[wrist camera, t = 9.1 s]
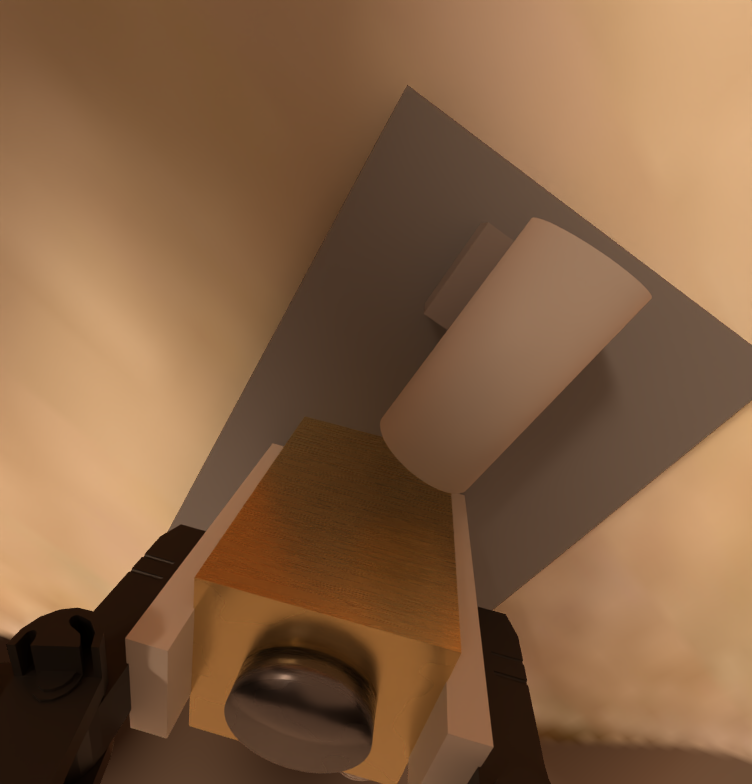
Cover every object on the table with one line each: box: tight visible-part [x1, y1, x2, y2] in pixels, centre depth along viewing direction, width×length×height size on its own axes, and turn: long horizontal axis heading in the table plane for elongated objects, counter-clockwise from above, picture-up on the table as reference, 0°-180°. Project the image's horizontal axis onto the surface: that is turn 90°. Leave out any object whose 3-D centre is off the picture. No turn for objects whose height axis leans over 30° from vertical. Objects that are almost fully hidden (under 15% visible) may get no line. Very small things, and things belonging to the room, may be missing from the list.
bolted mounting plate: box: [168, 85, 752, 610], centre depth 12 cm, size 18×12×5 cm, turn 147°
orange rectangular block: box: [189, 417, 461, 784], centre depth 10 cm, size 5×5×7 cm
